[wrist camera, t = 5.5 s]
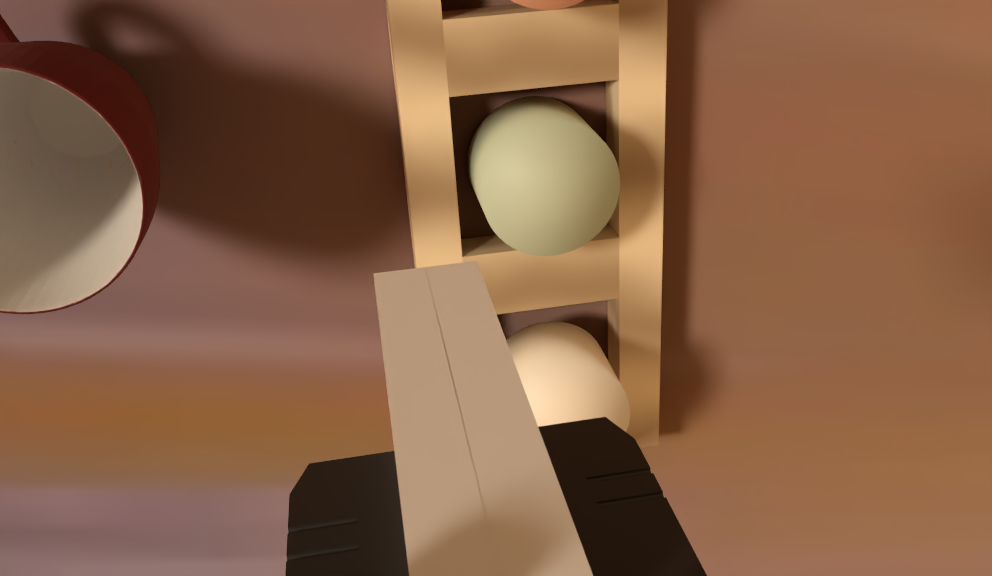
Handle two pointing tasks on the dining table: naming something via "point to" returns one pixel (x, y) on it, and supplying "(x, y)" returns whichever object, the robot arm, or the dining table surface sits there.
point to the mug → (70, 173)
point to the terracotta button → (547, 4)
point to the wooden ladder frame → (629, 134)
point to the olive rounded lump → (542, 176)
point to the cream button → (567, 375)
